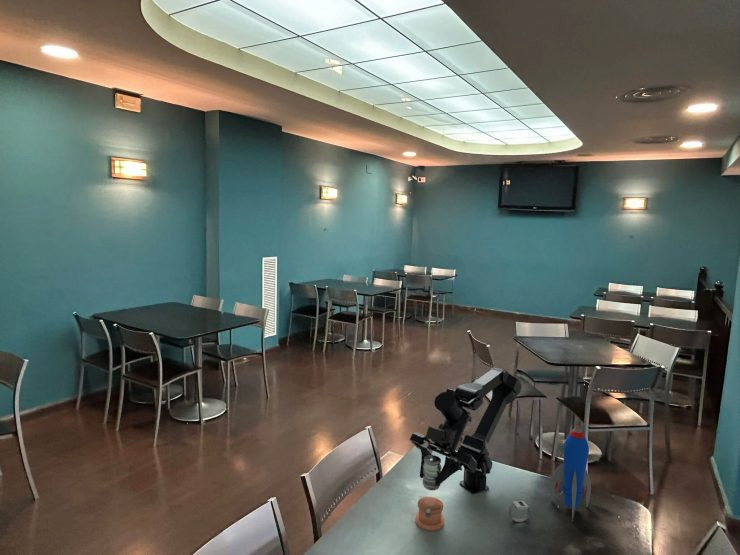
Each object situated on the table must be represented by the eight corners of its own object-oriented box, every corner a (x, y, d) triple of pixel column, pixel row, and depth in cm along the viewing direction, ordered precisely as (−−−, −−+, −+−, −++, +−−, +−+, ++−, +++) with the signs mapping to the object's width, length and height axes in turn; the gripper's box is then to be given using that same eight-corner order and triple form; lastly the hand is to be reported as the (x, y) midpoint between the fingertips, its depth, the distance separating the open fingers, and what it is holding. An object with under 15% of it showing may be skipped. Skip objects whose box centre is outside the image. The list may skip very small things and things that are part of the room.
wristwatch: (511, 525, 121) (512, 508, 120) (506, 518, 123) (507, 501, 123) (532, 523, 122) (533, 505, 121) (526, 516, 124) (528, 499, 124)
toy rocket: (589, 506, 130) (596, 422, 127) (596, 527, 121) (604, 438, 118) (548, 499, 133) (555, 417, 130) (552, 519, 123) (559, 432, 121)
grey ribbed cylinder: (429, 479, 123) (430, 452, 122) (443, 486, 120) (445, 459, 119) (418, 486, 120) (419, 459, 119) (433, 493, 117) (434, 466, 116)
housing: (426, 509, 126) (427, 491, 126) (449, 521, 121) (450, 503, 121) (409, 521, 121) (410, 503, 120) (433, 535, 116) (434, 516, 115)
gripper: (414, 404, 127) (387, 455, 120) (473, 425, 114) (447, 484, 108) (429, 422, 134) (405, 472, 127) (487, 444, 121) (463, 500, 114)
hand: (428, 481), depth 119 cm, fingers closed on grey ribbed cylinder, 5 cm apart
